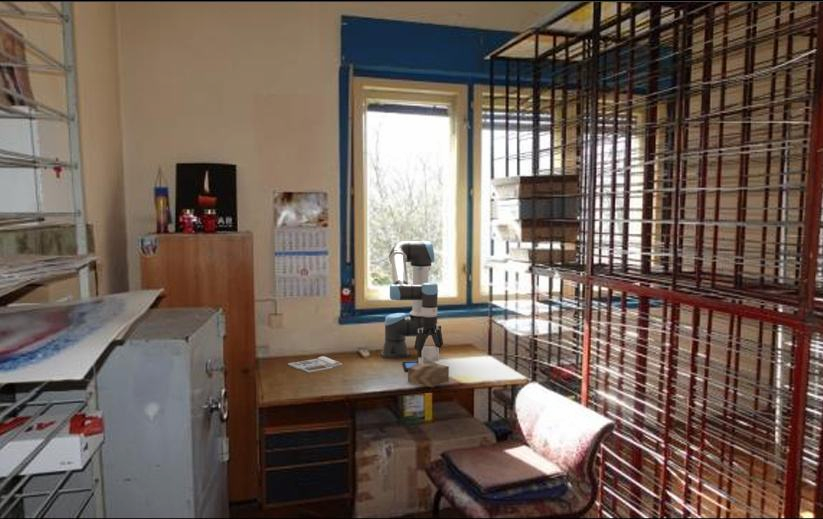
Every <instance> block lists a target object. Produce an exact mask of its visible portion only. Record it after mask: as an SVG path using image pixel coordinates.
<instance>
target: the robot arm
mask: <svg viewBox="0 0 823 519" xmlns="http://www.w3.org/2000/svg"><path fill="white" fill-rule="evenodd" d="M434 251H435V250H434V245H433V243H432V242H431V241H428V240H427V241H426V240H403V241H400V242H398V243H396V244H395V245H394V246H393V247H392V248H391V250H390V251H389V257H388V258H389V263H390V264H391V272H392V274H391V275H392V284H390V286H389V299H390V300H391V301H412V309H411V311H410V312H409V315H407V314H406V313H404V312H396V313H390V314H388V315H386V316H385V320H384V342H383V343H384V344H383V347H382V350H381V356H382V357H384V358H389V359H402V358H407V357H408V356H409V349H408V346H407V342H406V337H407V338H408V337H409V338H410V337H411V338H412V337H413V338H414V337H415V342H414V346H413V348H414V349H413V350H416V351H417V358H418V360H417V361H418V364H421V365H423V354H424V351H422V349H423V347H424V346H425V343H426V342H427V339H428V338H429V336H431V338H432V341H433V343H434V347H435V349H436V352H437V354H438V355H437V358H436V360H435V362H439V361H440V353H441V351H440V350H441V348H442V347H443V345H444V339H443V335H442V326H441V325H438V296H439V295H438V292H439V289H438V288H439V287H438V284H437V283H436V282H429V269H430V267H432V263H434V262H435V252H434ZM407 263H410V266H411V268H412V272H413V273H412V284H409V279H408V272H407V271H408V270H407Z"/></svg>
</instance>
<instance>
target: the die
mask: <svg viewBox="0 0 823 519" xmlns="http://www.w3.org/2000/svg"><path fill="white" fill-rule="evenodd" d="M435 347H436V346H435V345H424V347H423V349H422V351H424V354H423V364H434V363H435V364H436V361H435V360H436V358H437V355H438V354H437V352H436V349H435Z"/></svg>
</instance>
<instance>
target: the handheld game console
mask: <svg viewBox="0 0 823 519" xmlns="http://www.w3.org/2000/svg"><path fill="white" fill-rule="evenodd" d="M417 364H418V360H416V361H402V368H403V371H404V372H406V373H408V368H409V367H411V366H414V365H417Z"/></svg>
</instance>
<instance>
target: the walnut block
mask: <svg viewBox="0 0 823 519" xmlns="http://www.w3.org/2000/svg"><path fill="white" fill-rule="evenodd" d="M449 371H450V366H449V365H444V364H440V363H436V362H435V363H434V364H423V365H421V364H417V365H414V366H411V367H409V368H408V372H407V382H408V383H413V384H416V385H421V386H425V387H430V388H435V387H436V386H437V387H438V385H441V384H443V383H445V382H447V381H449V376H450V375H449V374H450V372H449ZM440 383H441V384H440Z"/></svg>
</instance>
